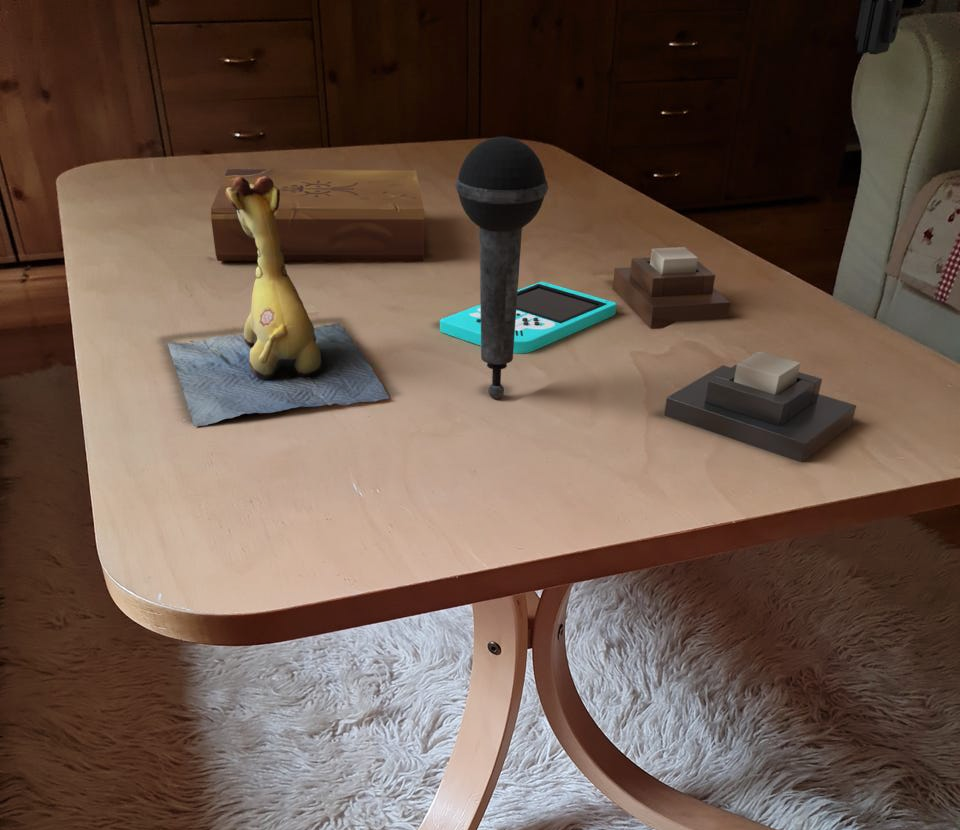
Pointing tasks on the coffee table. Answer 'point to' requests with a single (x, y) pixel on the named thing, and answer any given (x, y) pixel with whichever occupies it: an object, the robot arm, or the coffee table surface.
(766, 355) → the near key
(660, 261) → the far key
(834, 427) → the near block
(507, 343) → the microphone
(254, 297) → the giraffe figurine
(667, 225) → the coffee table surface
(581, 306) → the handheld game console
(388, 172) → the brown wooden box
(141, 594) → the coffee table surface
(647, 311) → the far block
